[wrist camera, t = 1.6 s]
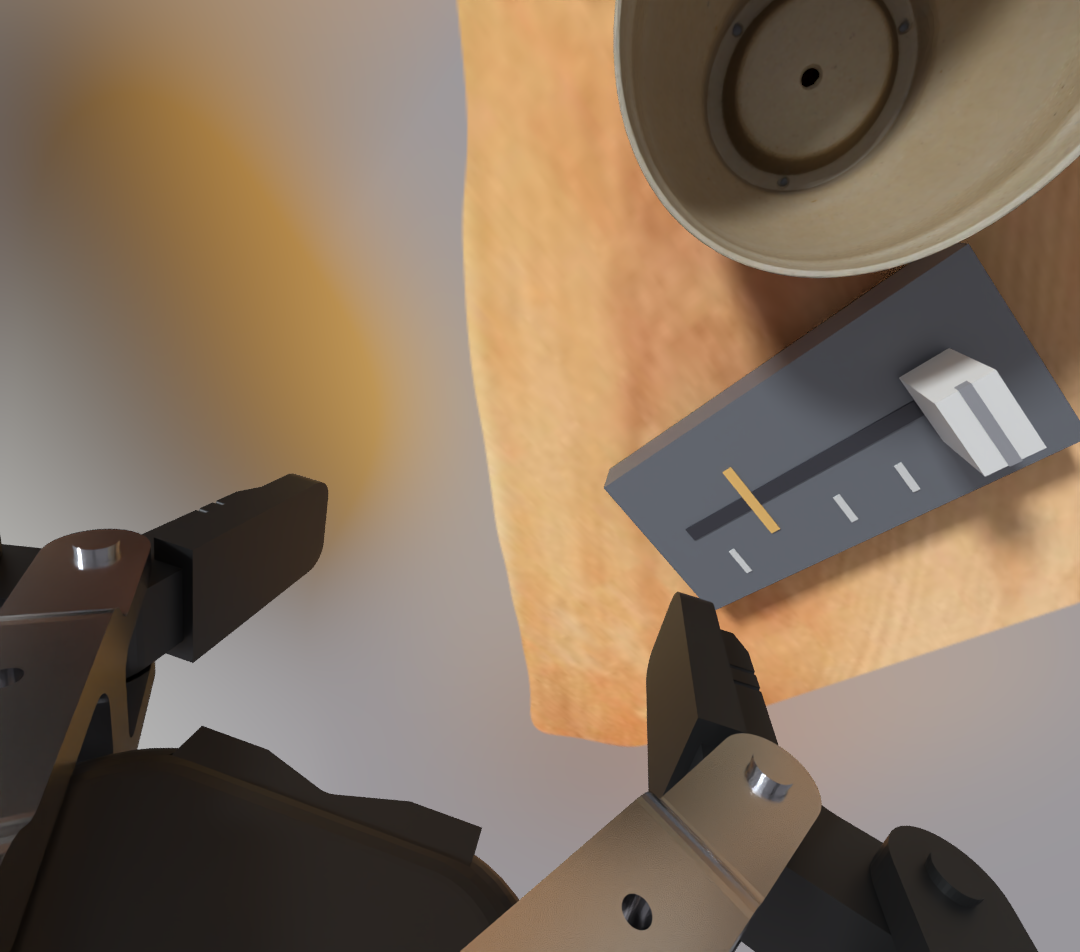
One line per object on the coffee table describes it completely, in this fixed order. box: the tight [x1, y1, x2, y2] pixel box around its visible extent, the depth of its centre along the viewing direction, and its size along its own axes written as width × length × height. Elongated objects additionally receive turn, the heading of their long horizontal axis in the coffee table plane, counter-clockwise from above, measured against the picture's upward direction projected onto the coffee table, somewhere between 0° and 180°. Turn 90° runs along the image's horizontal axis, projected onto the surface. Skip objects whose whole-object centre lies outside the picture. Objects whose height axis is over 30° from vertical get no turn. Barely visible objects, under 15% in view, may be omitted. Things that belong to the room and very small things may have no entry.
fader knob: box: [899, 348, 1047, 476], centre depth 24 cm, size 2×4×4 cm, turn 42°
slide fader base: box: [604, 243, 1080, 610], centre depth 31 cm, size 22×12×3 cm, turn 132°
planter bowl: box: [614, 0, 1080, 278], centre depth 20 cm, size 16×16×11 cm
